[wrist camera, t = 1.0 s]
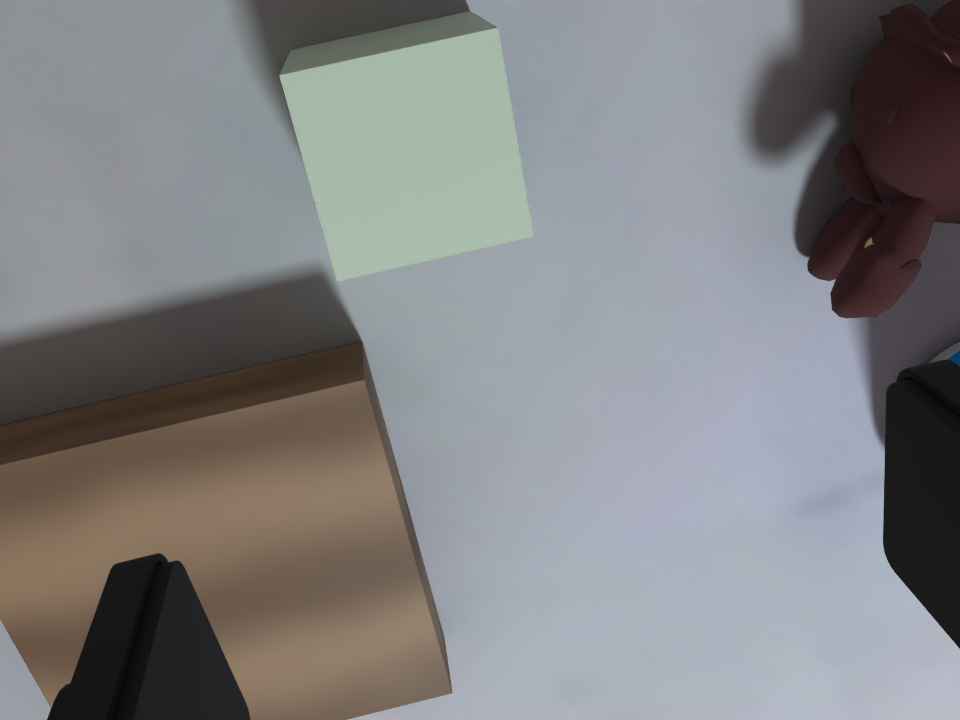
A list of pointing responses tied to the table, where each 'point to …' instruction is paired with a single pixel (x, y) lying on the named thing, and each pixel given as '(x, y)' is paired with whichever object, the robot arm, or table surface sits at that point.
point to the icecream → (895, 162)
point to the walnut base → (231, 533)
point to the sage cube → (408, 143)
